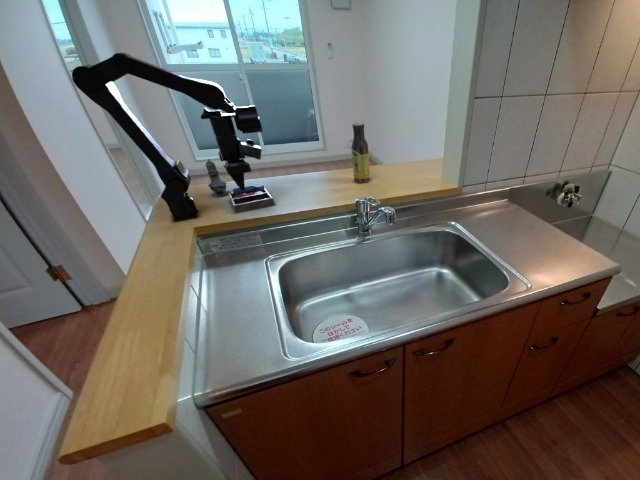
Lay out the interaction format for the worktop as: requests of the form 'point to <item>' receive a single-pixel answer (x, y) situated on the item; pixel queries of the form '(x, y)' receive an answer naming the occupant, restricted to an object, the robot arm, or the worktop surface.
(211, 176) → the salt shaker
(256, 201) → the tray
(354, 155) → the sauce bottle
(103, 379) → the worktop surface
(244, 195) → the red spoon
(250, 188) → the blue flashlight
